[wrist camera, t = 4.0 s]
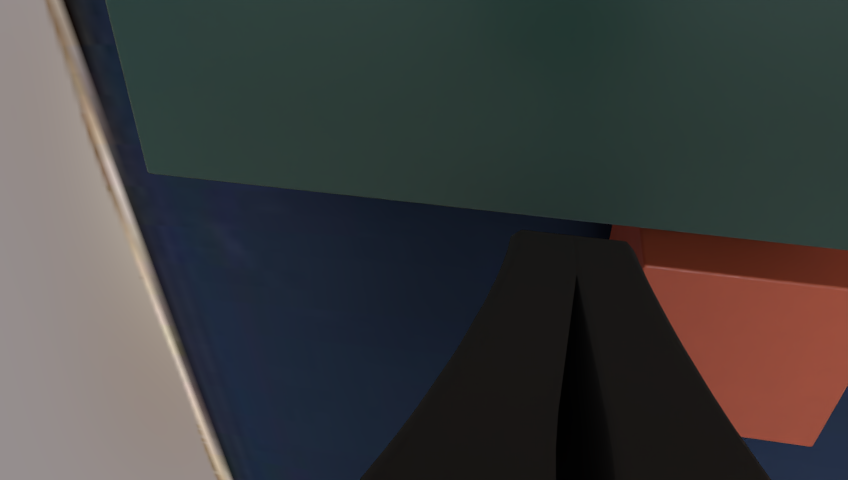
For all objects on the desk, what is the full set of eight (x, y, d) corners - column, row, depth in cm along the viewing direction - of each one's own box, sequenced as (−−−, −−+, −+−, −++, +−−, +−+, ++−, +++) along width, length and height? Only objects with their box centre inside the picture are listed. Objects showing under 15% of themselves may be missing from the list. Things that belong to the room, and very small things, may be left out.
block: (769, 308, 21) (813, 448, 17) (598, 287, 22) (603, 418, 18) (831, 164, 18) (901, 295, 14) (630, 144, 19) (643, 265, 15)
